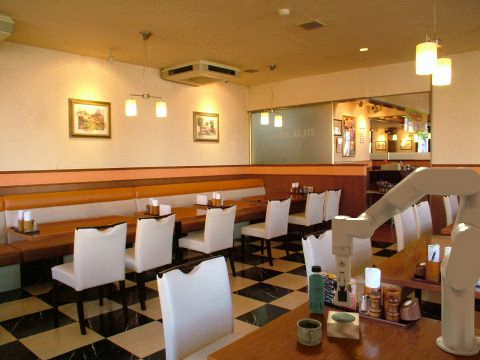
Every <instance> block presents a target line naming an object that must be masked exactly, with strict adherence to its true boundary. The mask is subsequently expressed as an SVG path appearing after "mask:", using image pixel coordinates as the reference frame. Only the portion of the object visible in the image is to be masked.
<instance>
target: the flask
mask: <svg viewBox="0 0 480 360" xmlns="http://www.w3.org/2000/svg"><path fill="white" fill-rule="evenodd" d="M344 282H345V281H344ZM344 285H345V284H344ZM346 291H347V302H340V301H338V287H337V288H336V292H335V294H334V297H333V299H332V303H333V305H335V306H339V307H351V306H352V305H353V303H354V302H353V300H352V297H351V294H350V292H349V291H350V290H349V289H348V283H347V284H346Z"/></svg>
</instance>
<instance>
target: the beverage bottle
mask: <svg viewBox="0 0 480 360" xmlns="http://www.w3.org/2000/svg"><path fill="white" fill-rule="evenodd" d="M310 270H311V272H312V273H311V274H309V276H308V311H309V312H311V313H313V314H322V313H324V312H325V308H326V307H325V305H326V304H325V277H324V275H323V274H322V267H321V266H320V265H315V264H314V265H311V269H310Z"/></svg>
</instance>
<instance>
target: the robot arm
mask: <svg viewBox="0 0 480 360" xmlns="http://www.w3.org/2000/svg"><path fill="white" fill-rule="evenodd" d="M427 195H433V196H459V206H458V211H457V213H456V218H455V221H454V225H453V227H452V230H451V233H450V241H451V242H452V245H451V248H450V252H449V253H447V254H445V256H444V257H443V258H442V260H441V263H440V276H441V277H440V279H441V280H440V281H441V336H439V337H437V338H436V341H435V342H436V346H437V347H439V348H440V349H441V350H443V351H444V352H447V353H449V354H450V353H451V354H452V355H458V356H470V357H471V356H475V355H477V354H480V353H479V352H480V336H476V335H475V287H476V286H477V285H478V283H479V281H480V173H479V172H478V171H477V170H475V169H474V168H469V167H465V166H460V167H454V168H452V167H451V168H450V167H449V168H445V167H444V168H442V167H441V168H440V167H429V166H420V167H417V168H416V169H414V170H413V171H412V172H411V173H409V174H408V175H407V176H405V177H404V178H403V179H402V180H401V181H400V182H398V183H397V184H396V185H394V186H393V187H392V188H391V189H389V190H388V191H386V193H385V194H384V195H383V196H382V197H381V198H379V200H377V201H376V202H375V203H373V204H372V205H371V206H370V207H369V208H367V209H365V211H363V212H362V213H361V214H360V215H358V216H357V218H352V217H351V216H348V215H336V216H333V217H332V219H331V254H332V255H333V256H334V257H335V259H334V261H335V265H334V266H335V280H336V283H337V288H338V301H340V302H347V291H346V284H347V285H348V284H351V279H352V278H351V273H352V272H351V271H352V270H351V269H352V268H351V267H352V266H351V256H353V255H354V238H355V239H359V240H367V239H370V238H371V237H372V236H373V235H374V233H375V231H376V230H377V229H378V228H380V226H382V225H383V224H384V223H386V222H387V221H388V220H390V219H391V218H393V217H394V216H396V215H401V214H402V213H404V212H406V210H408V209H410V208H411V207H412V206H413V205H415V204H416V203H418V202H419V201H420V200H421V199H423V197H425V196H427ZM344 281H345V282H344ZM344 284H345V285H344Z"/></svg>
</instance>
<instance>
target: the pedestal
mask: <svg viewBox="0 0 480 360" xmlns="http://www.w3.org/2000/svg"><path fill="white" fill-rule="evenodd" d="M326 329H327V330H326V331H327V332H326V333H327V337H333V338H344V339H345V338H346V339H353V340H360V313H358V312H347V311H346V312H345V311H334V310H333V311H332V310H328V315H327V321H326Z"/></svg>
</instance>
